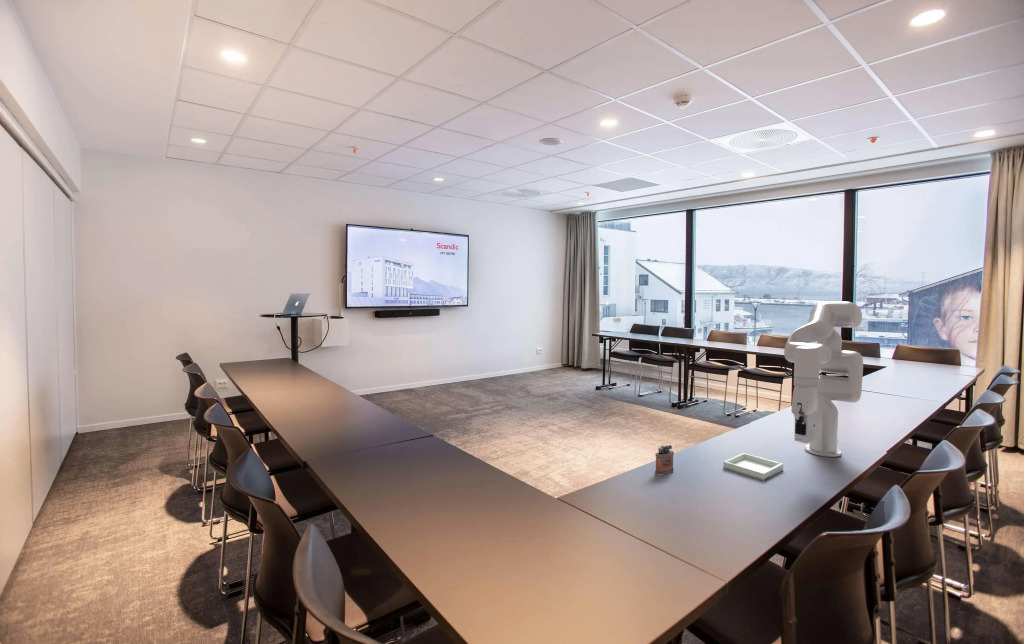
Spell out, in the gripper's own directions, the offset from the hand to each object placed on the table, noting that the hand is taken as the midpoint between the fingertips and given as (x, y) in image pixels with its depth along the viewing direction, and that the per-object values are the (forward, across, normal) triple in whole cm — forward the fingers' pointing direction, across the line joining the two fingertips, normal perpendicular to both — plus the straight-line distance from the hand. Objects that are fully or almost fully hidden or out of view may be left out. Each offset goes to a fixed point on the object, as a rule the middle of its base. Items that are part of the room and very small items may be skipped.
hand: (804, 431), depth 167 cm
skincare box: (+3, 0, 0) cm, 3 cm away
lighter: (+17, +32, -35) cm, 50 cm away
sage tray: (+17, +4, -16) cm, 24 cm away
